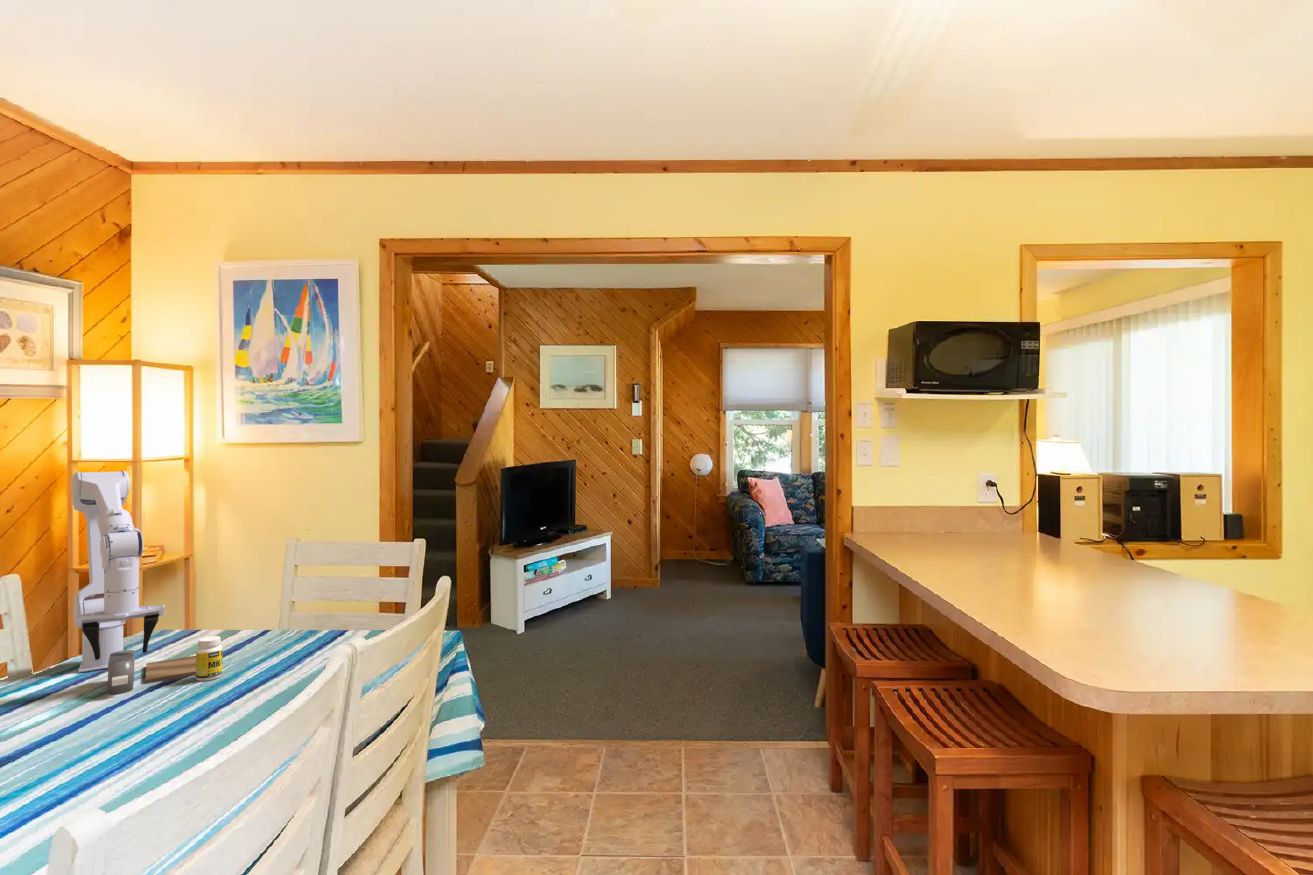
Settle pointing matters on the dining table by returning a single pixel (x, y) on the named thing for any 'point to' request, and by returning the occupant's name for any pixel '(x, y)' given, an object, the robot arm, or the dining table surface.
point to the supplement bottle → (209, 658)
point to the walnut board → (170, 669)
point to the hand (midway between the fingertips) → (121, 654)
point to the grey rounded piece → (121, 672)
